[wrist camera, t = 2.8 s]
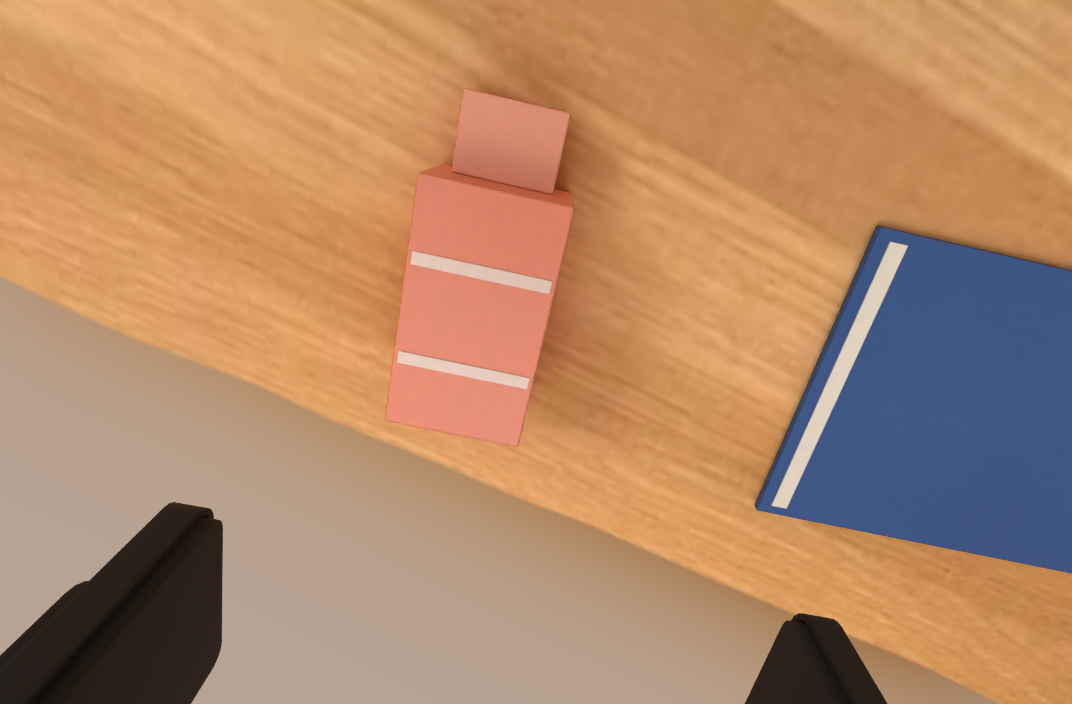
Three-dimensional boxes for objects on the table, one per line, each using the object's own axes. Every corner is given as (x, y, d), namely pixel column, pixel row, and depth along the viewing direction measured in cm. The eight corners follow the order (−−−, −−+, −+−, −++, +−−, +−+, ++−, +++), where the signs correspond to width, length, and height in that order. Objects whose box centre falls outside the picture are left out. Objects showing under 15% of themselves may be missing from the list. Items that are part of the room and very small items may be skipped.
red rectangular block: (453, 86, 23) (429, 77, 19) (588, 118, 23) (597, 117, 19) (411, 373, 28) (383, 422, 23) (523, 397, 28) (518, 449, 24)
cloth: (876, 225, 25) (882, 227, 24) (1295, 322, 26) (1307, 325, 25) (754, 505, 30) (757, 511, 30) (1103, 576, 31) (1111, 582, 31)
